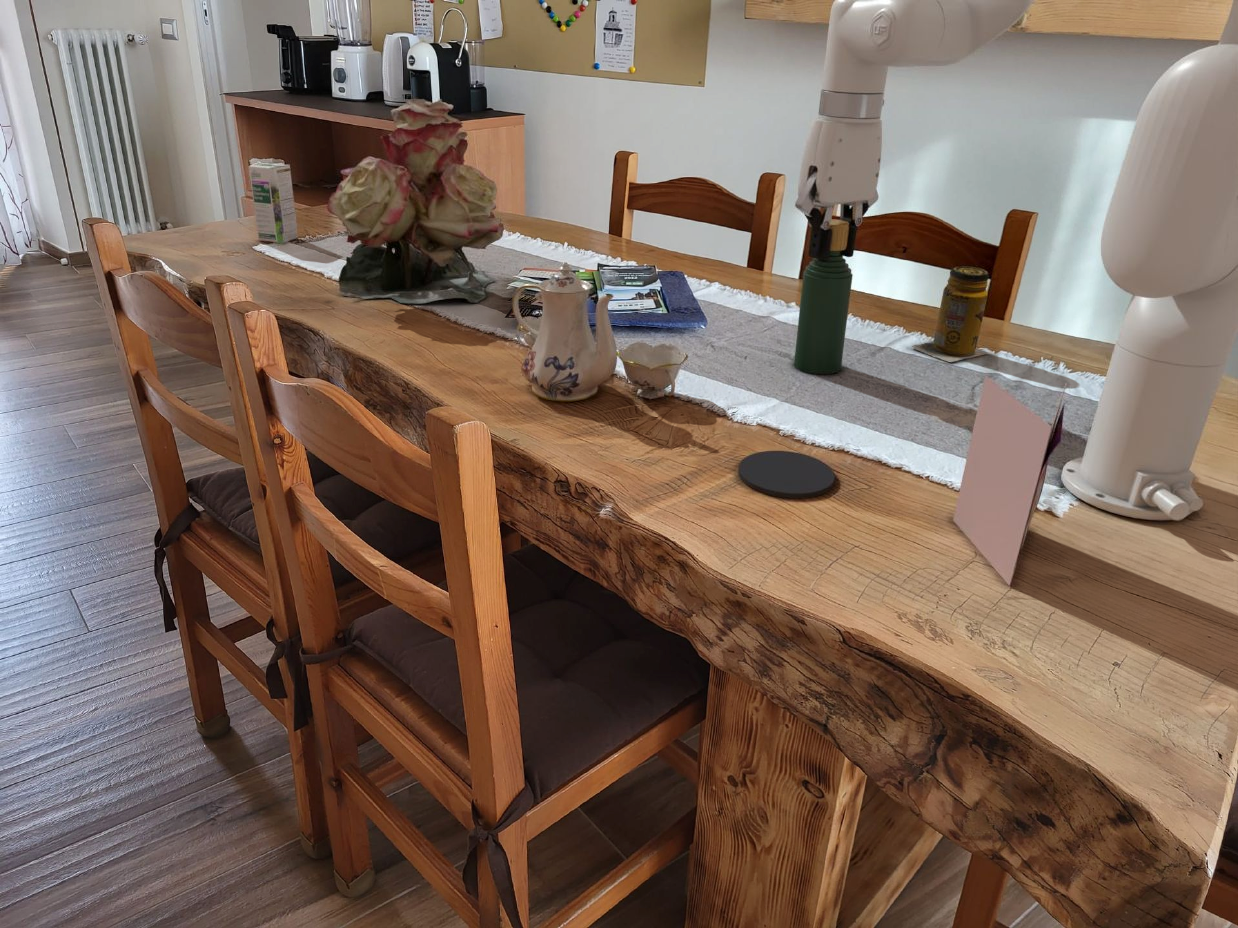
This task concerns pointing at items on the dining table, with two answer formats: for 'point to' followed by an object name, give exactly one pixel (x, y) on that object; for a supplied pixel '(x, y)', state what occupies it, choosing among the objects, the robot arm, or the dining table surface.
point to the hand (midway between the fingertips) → (830, 255)
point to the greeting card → (1004, 475)
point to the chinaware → (585, 346)
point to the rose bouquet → (417, 213)
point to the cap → (839, 234)
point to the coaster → (786, 474)
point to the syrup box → (273, 202)
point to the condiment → (959, 316)
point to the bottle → (823, 315)
